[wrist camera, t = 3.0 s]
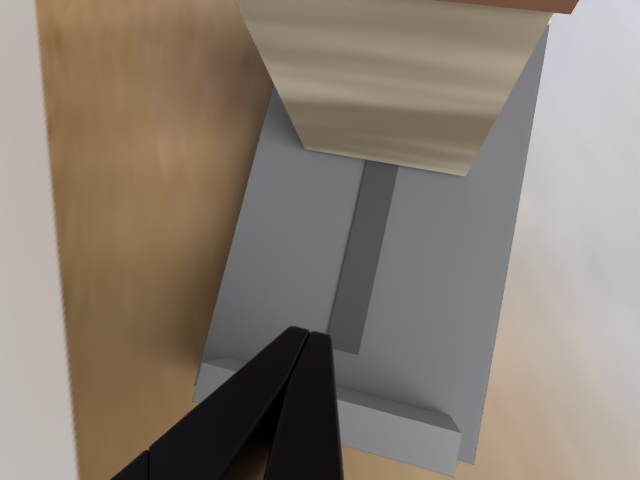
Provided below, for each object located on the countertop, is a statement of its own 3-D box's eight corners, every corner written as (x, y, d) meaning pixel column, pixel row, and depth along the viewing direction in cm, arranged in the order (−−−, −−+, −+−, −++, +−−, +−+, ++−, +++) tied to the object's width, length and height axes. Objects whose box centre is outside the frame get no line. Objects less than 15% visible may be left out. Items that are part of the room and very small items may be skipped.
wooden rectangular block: (470, 182, 16) (598, -34, 6) (298, 153, 17) (182, -69, 7) (486, 95, 16) (631, -233, 7) (318, 72, 18) (235, -236, 8)
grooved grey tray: (463, 448, 17) (489, 491, 12) (214, 379, 18) (162, 396, 14) (554, -68, 20) (601, -176, 15) (333, -84, 22) (320, -185, 17)
